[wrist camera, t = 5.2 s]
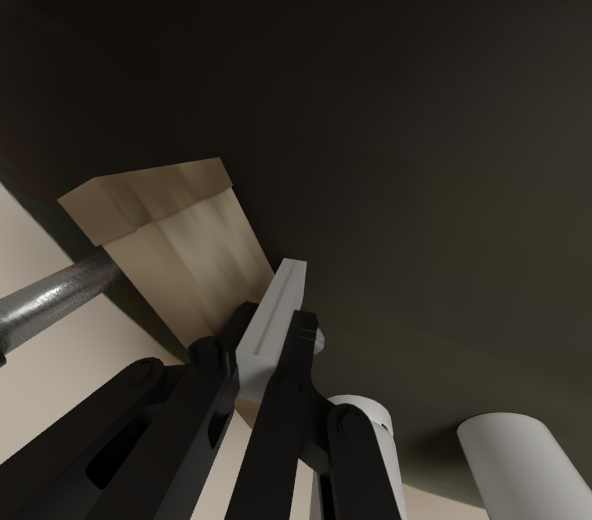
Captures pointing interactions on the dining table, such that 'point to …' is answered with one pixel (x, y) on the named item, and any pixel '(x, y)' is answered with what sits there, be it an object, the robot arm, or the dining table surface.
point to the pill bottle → (522, 469)
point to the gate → (178, 245)
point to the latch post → (53, 299)
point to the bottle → (386, 444)
